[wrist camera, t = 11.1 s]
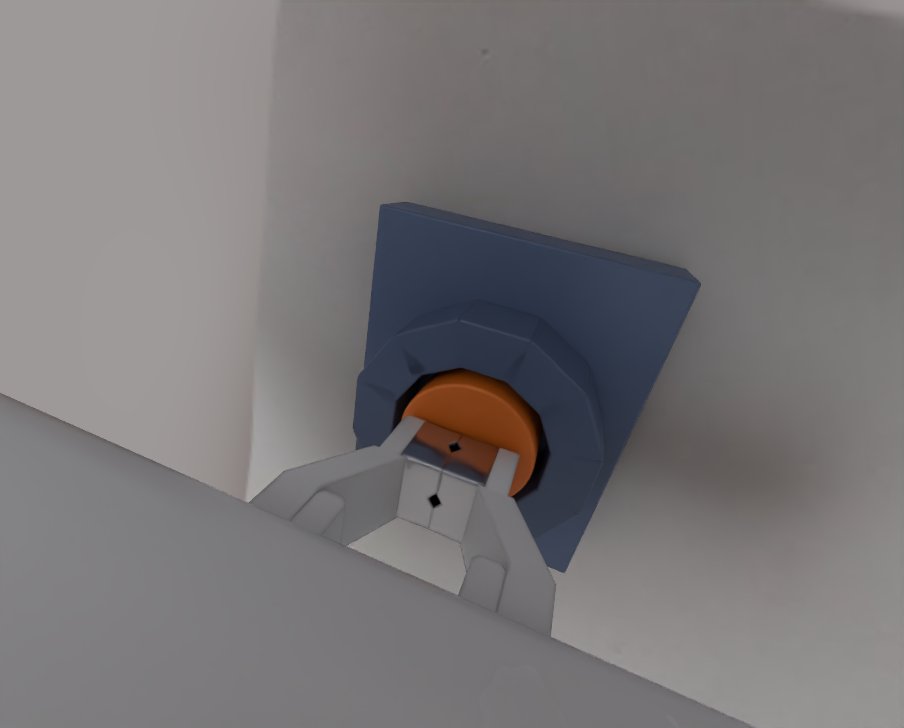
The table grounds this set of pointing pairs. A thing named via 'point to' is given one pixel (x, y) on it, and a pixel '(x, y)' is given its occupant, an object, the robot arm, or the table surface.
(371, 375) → the control block
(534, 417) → the button
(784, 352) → the table surface
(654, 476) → the table surface
